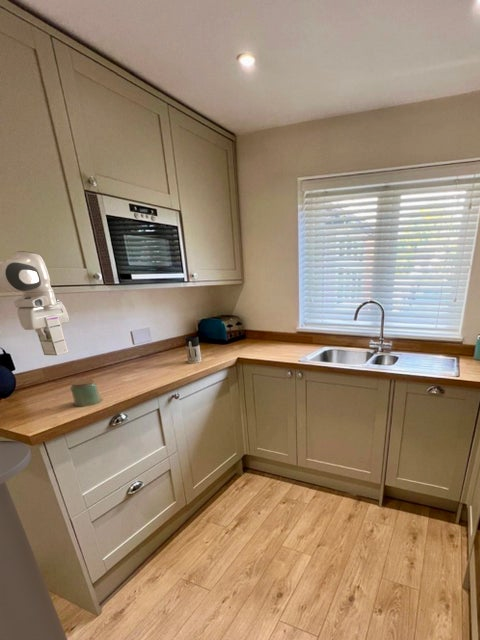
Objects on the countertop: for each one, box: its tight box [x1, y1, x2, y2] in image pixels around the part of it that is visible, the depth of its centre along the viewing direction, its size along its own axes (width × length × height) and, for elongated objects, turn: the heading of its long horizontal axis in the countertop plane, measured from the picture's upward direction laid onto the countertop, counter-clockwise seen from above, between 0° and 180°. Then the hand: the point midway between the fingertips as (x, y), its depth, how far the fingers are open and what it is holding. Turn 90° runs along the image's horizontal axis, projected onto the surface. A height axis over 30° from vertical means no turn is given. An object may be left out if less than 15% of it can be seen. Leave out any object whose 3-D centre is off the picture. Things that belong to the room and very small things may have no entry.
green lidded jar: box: [69, 378, 101, 407], centre depth 137 cm, size 9×9×9 cm
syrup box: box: [37, 315, 69, 356], centre depth 125 cm, size 6×6×14 cm
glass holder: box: [184, 335, 203, 364], centre depth 199 cm, size 9×14×15 cm, turn 10°
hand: (52, 338), depth 126 cm, fingers closed on syrup box, 6 cm apart
